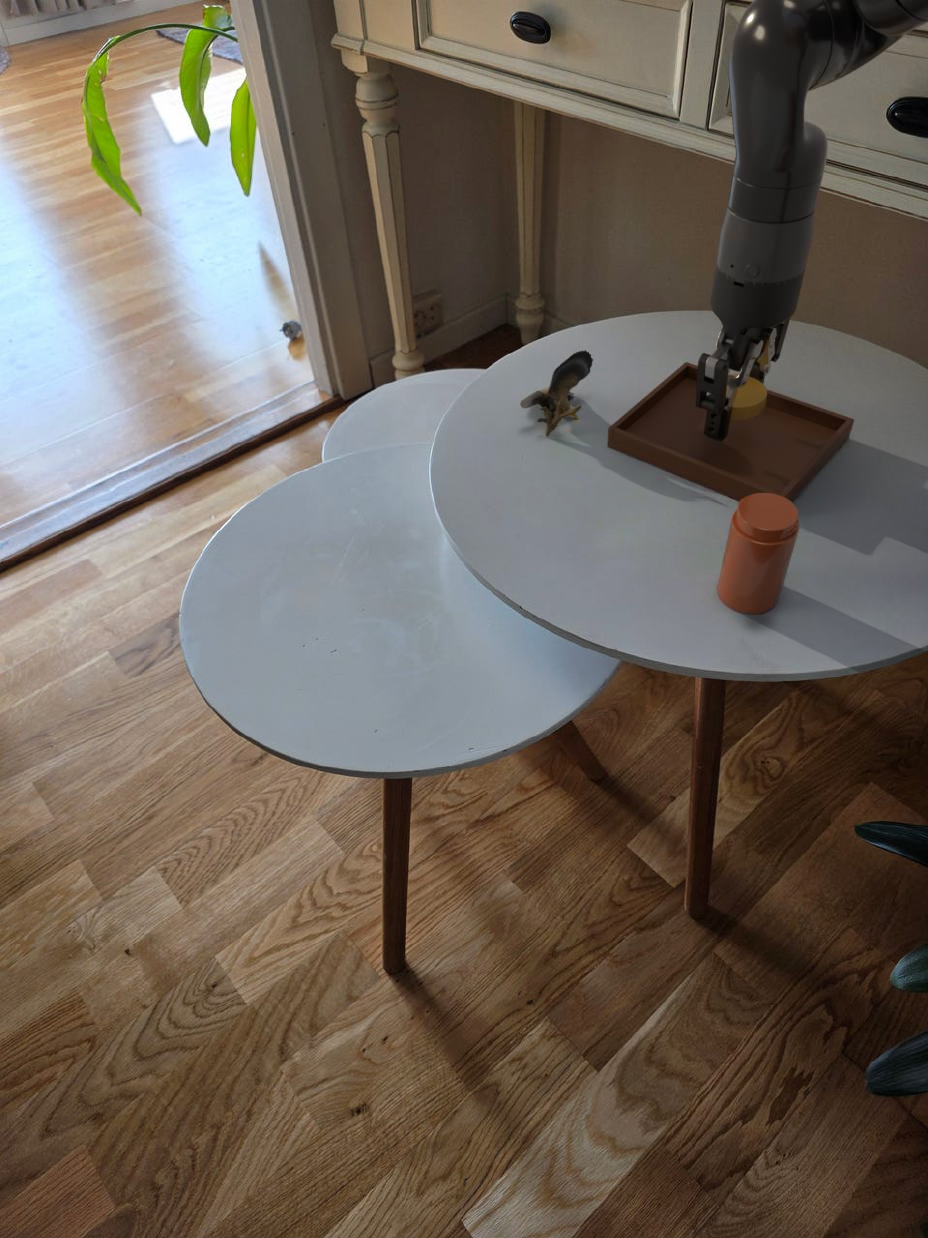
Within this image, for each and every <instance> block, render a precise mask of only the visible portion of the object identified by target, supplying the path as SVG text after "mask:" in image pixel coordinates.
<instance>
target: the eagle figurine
mask: <svg viewBox="0 0 928 1238" xmlns="http://www.w3.org/2000/svg"><path fill="white" fill-rule="evenodd" d="M593 361H594V359H593V357H592V354H591V353H590V352H589V351H588V350H579V351H576V352H573V354H571V355H570V356H569V357H568V358H566V359H565V360H563V361H562V362H561V363H560V364H559V365H558V366H557V367H556V368H555V369H554V371H553V372H552V374H551V375H552V376H551V380H550V382H549V383H550V384H549V385H548V386H547V387H544V388H542V389H540V390H536V391H534V392H531V393H529V394H528V395H526V396H524V397H522V398H521V399H520V402H519V406H520V407H521V408H522V409H529V408H532V407H533V406H536V405H537V406H540V407H539V410H540V411H542V412H543V414H544V417H545V418H544V417H539V418H538V419H536V422H538V423H545V424H546V431H545V437H549V436H550V435H551V433H552V432H553V431H555V430H556V428H557V427H558V424H559V423H560V422H561V421H562V420H563V419H565V418H567V417H569V416H570V417H572V418H574V419H576V420H579V417H578V414H577V413H578V412H579V411H580V409H581V408H582V407H583V406H582V405H581V404H578V405H577V406H575V407H574V406H573V405H572V404H571V403H570V402H569V399H568V397H569V396H574V395H575V393H573V392H571V390H573V388H575V387H577V386H578V385H579V383H580V382H581V381H582V380H584V379H585V378H587V377H588V376H589V375H590V373H591V368H592V366H593Z"/></svg>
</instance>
